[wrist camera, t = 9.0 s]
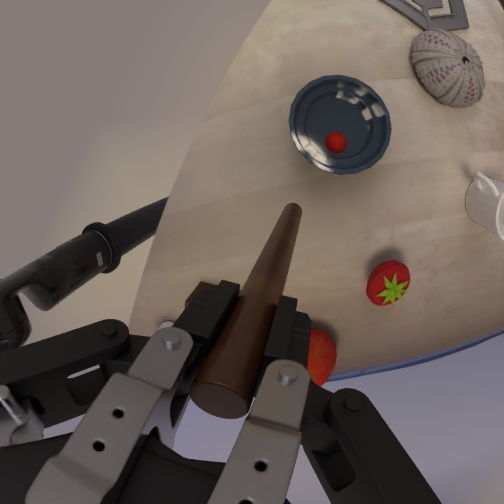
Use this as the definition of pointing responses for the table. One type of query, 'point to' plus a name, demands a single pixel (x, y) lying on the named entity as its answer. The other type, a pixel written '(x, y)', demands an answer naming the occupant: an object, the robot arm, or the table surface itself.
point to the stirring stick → (247, 328)
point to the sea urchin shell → (448, 67)
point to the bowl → (340, 123)
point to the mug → (486, 203)
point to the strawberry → (388, 283)
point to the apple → (321, 356)
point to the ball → (336, 142)
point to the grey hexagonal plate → (426, 22)
